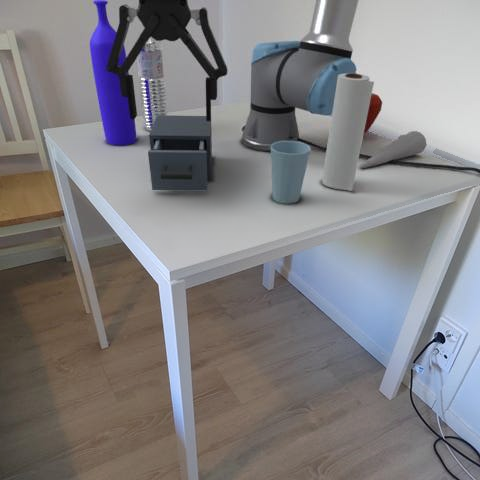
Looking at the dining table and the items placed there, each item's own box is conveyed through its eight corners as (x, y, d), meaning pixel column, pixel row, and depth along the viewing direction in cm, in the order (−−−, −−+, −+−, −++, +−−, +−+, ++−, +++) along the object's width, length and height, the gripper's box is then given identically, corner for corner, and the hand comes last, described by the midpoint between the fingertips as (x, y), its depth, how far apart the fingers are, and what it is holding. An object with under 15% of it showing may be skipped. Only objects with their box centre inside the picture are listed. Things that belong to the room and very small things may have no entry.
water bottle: (156, 123, 126) (146, 20, 110) (173, 128, 123) (165, 23, 107) (139, 128, 121) (126, 22, 105) (156, 133, 119) (145, 25, 102)
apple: (381, 140, 119) (392, 92, 111) (346, 142, 116) (355, 94, 109) (363, 128, 127) (372, 83, 119) (330, 130, 124) (337, 84, 117)
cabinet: (211, 180, 95) (210, 135, 88) (154, 180, 94) (149, 135, 88) (211, 157, 106) (211, 116, 99) (161, 156, 105) (156, 115, 99)
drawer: (206, 201, 85) (205, 161, 80) (149, 200, 84) (144, 161, 79) (208, 166, 99) (207, 131, 94) (159, 165, 98) (155, 130, 93)
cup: (259, 196, 89) (262, 145, 82) (285, 187, 93) (290, 137, 86) (285, 209, 84) (290, 156, 78) (311, 199, 88) (318, 148, 82)
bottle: (130, 147, 110) (109, 2, 90) (100, 144, 111) (73, 1, 91) (142, 137, 116) (125, 0, 96) (113, 134, 117) (91, -2, 98)
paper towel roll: (320, 178, 97) (335, 71, 83) (346, 178, 97) (366, 72, 83) (323, 191, 92) (341, 79, 78) (351, 192, 92) (374, 80, 78)
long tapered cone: (382, 158, 96) (427, 132, 105) (359, 153, 100) (404, 129, 109) (381, 182, 100) (424, 155, 109) (358, 177, 104) (401, 152, 113)
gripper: (243, -31, 67) (239, 114, 81) (83, -37, 66) (106, 110, 80) (244, -30, 61) (240, 126, 75) (69, -37, 60) (97, 122, 74)
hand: (171, 118), depth 77 cm, fingers open, 13 cm apart
